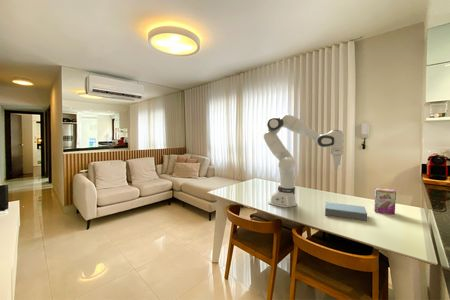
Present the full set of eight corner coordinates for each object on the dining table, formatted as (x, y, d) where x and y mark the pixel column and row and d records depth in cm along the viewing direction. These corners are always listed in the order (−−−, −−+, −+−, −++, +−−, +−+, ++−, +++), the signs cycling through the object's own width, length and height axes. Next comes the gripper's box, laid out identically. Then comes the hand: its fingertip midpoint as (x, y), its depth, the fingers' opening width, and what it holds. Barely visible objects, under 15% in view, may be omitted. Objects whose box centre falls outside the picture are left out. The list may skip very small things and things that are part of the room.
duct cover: (325, 209, 139) (325, 207, 139) (325, 203, 151) (325, 202, 151) (367, 214, 128) (367, 213, 128) (364, 207, 140) (364, 206, 140)
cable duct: (325, 215, 140) (325, 209, 139) (325, 209, 150) (325, 203, 150) (367, 221, 129) (367, 215, 128) (364, 214, 139) (364, 208, 139)
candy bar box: (374, 212, 143) (375, 189, 141) (374, 209, 147) (374, 187, 146) (395, 215, 137) (396, 191, 136) (393, 212, 141) (394, 189, 140)
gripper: (331, 150, 163) (331, 166, 164) (332, 152, 145) (331, 171, 146) (340, 150, 160) (340, 167, 161) (342, 152, 142) (341, 172, 143)
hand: (336, 169), depth 153 cm, fingers closed
